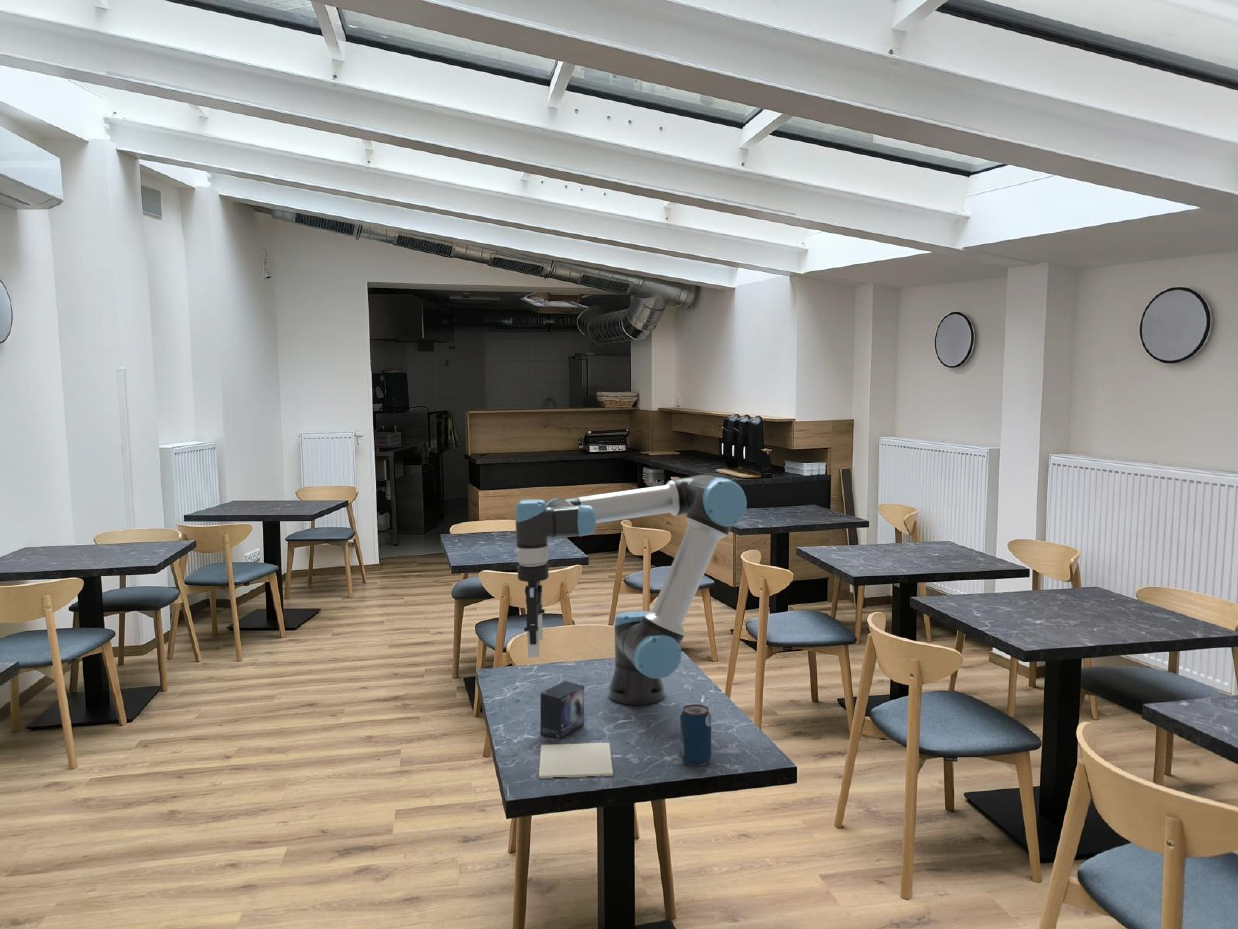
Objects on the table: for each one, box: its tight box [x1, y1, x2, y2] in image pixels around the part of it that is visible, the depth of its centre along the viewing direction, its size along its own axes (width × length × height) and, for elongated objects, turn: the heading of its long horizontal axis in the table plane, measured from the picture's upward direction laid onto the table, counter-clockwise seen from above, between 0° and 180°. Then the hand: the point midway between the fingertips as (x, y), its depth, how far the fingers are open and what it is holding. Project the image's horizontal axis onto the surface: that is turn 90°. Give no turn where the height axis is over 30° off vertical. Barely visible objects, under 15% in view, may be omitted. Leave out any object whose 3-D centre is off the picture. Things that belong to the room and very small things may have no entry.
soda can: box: [679, 704, 712, 766], centre depth 188 cm, size 7×7×12 cm
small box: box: [539, 680, 585, 740], centre depth 206 cm, size 11×6×10 cm, turn 148°
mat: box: [538, 742, 614, 779], centre depth 189 cm, size 16×16×1 cm
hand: (535, 648), depth 207 cm, fingers open, 13 cm apart
